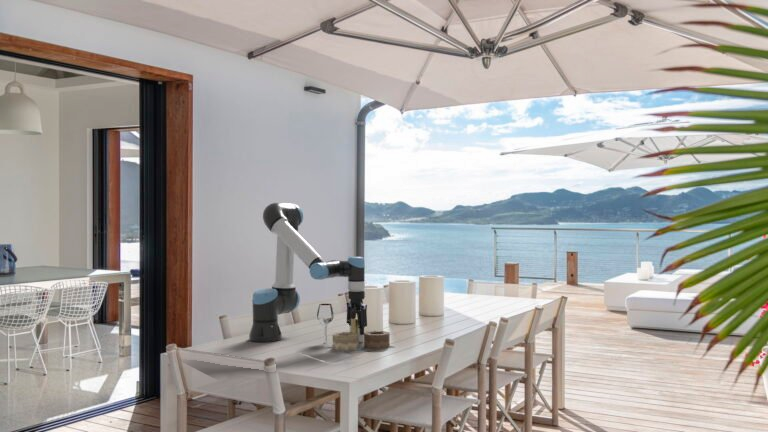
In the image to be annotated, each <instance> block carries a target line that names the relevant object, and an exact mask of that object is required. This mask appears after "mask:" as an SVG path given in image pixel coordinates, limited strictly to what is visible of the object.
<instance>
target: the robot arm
mask: <svg viewBox="0 0 768 432" xmlns="http://www.w3.org/2000/svg"><path fill="white" fill-rule="evenodd" d="M303 220H304V214H303V211H302V209H301V207H300V206H299V205H297V204H296V203H291V202H281V203H280V202H272V203H270V204H268V205H267V206H266V207H265V208H264V209H263V213H262V221H263V223H264V225H265V226H266V228H267V229H268V230H269V231H270V232H271V233H272V234H274V235H275V234H276V251H275V252H276V256H275V257H276V258H275V260H276V261H275V278H274V279H275V280H274V283H273V284H272V285H271V288H262V289H261V288H260V289H258V290H256V291H254V293H253V295H252V300H251V301H252V325H251V329H250V332H249V337H248V340H249V341H250V342H254V343H269V342H270V343H272V342H278V341H280V340H282V337H283V335H282V332H281V327H280V326H279V321H278V320H279V318H278V316H279V315H282V314H283V315H284V314H288V313H292V312H294V311H295V310H296V309H297V308H298V307H299V305H300V303H301V301H300V300H301V299H300V298H301V297H300V294H299V293H298V290H296V287H297V286H296V285H295V284H294V264H295V263H294V259H295V255H296V256H297V257H298V259H300V260H301V261H302V263H304V265H306V267H308V269H309V274H310V277H311V278H312V279H314V280H326V279H330V278H331V279H332V278H344V277H345V278H347V279H348V281H347V283H348V284H347V285H348V286H347V288H348V293H347V294H348V296H347V297H348V299H349V300H350V301H346V324H348V325H349V332H351V319H352V318H358V323H359V327H358V335H359V343H362V342H364V333H365V327H368V314H367V313H368V312H367V309H368V304H364V302H363V300H364V299H365V297H366V292H365V289H366V287H365V283H366V282H365V267H366V265H365V258H364V257H363V256H349V257H348V258H347V260H336V259H332V260H331V259H330V260H327V261H325V259H324V258H323V257H322V256H321V255H320V254H319V253H318V252H317V251H316V250H315V249H314V248H313V247H312V246H311V245H310V244H309V243H308V242H307V240H305V239H304V238H303V237H302V236H301V235H300V234H299V226H301V225H302V223H303ZM356 316H357V317H356Z"/></svg>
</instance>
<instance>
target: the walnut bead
mask: <svg viewBox="0 0 768 432" xmlns="http://www.w3.org/2000/svg"><path fill="white" fill-rule="evenodd" d="M390 337H391V336H390V332H389V331H385V330H369V331H364V347H365V348H368V349H381V350H385V349H384V348H388V347H389V346H391V345H390V343H391V342H390ZM388 349H389V348H388Z"/></svg>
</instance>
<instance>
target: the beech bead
mask: <svg viewBox="0 0 768 432" xmlns="http://www.w3.org/2000/svg"><path fill="white" fill-rule="evenodd" d="M359 343H360V342H359V335H358V333H354V332H350V331H342V332H335V333H333V334H332V347H333V349H332V350H334V349H335V351H338V350H345V351H349V350H355V349H357V348H358V347H359Z"/></svg>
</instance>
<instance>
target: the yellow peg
mask: <svg viewBox="0 0 768 432" xmlns="http://www.w3.org/2000/svg"><path fill="white" fill-rule="evenodd" d="M358 327H359V323H358V318H357V317H356V318H352V319H351V332H354V333H358Z"/></svg>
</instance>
